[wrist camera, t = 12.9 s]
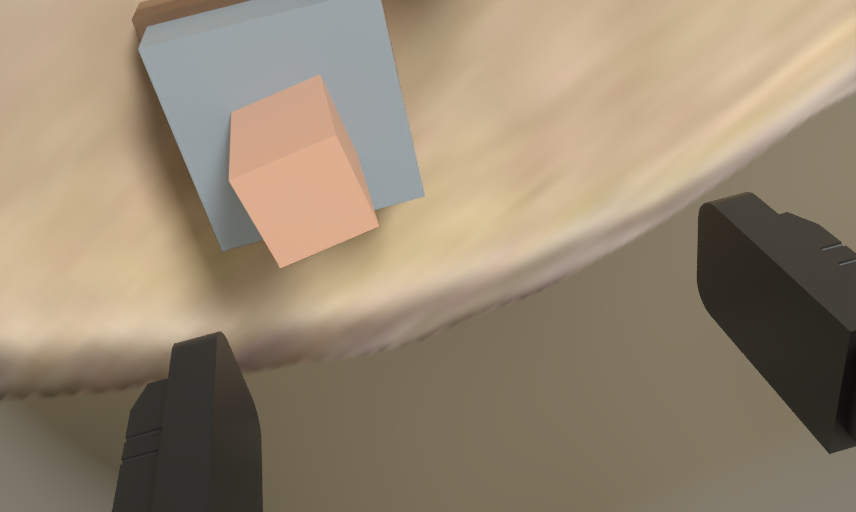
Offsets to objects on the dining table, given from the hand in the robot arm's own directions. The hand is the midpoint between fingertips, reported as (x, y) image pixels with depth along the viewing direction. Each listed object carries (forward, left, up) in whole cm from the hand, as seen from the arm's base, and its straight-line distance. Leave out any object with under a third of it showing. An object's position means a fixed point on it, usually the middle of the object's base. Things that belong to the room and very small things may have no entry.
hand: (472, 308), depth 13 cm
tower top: (+8, -4, -33) cm, 34 cm away
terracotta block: (+8, -4, -29) cm, 30 cm away
